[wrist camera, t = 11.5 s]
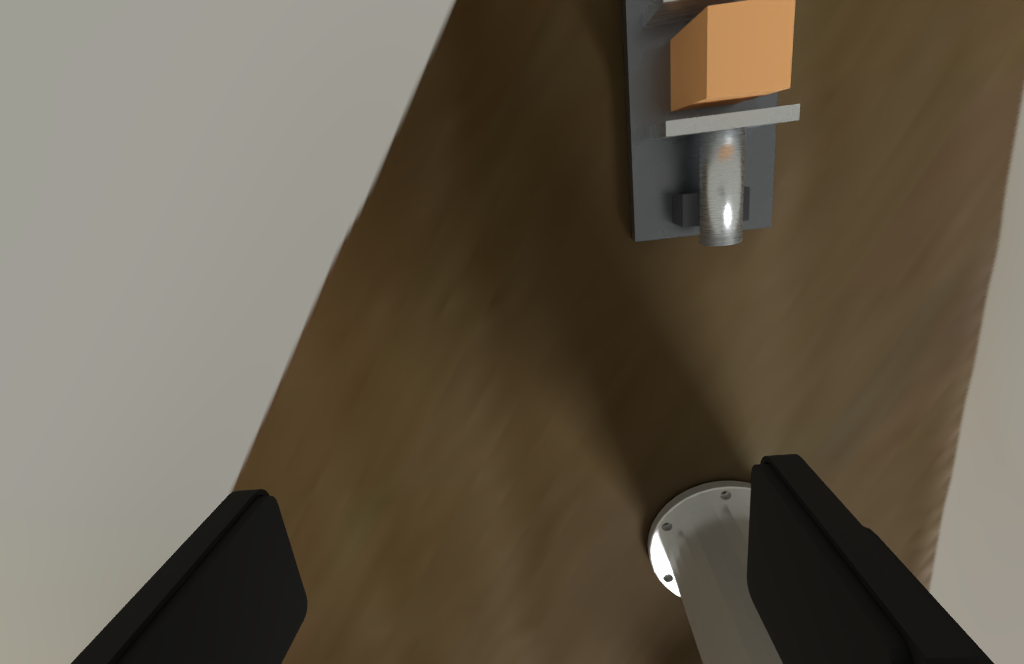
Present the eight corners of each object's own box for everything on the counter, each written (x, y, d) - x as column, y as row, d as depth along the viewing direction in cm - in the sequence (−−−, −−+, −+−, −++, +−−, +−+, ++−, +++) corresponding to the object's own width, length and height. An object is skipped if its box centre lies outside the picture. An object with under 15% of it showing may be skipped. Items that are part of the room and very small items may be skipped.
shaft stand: (761, 224, 35) (810, 237, 29) (631, 238, 35) (651, 254, 29) (775, -130, 28) (841, -210, 22) (616, -103, 29) (637, -174, 23)
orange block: (738, 31, 30) (795, -7, 23) (736, 103, 31) (790, 88, 24) (670, 40, 30) (707, 5, 23) (670, 111, 31) (706, 98, 25)
